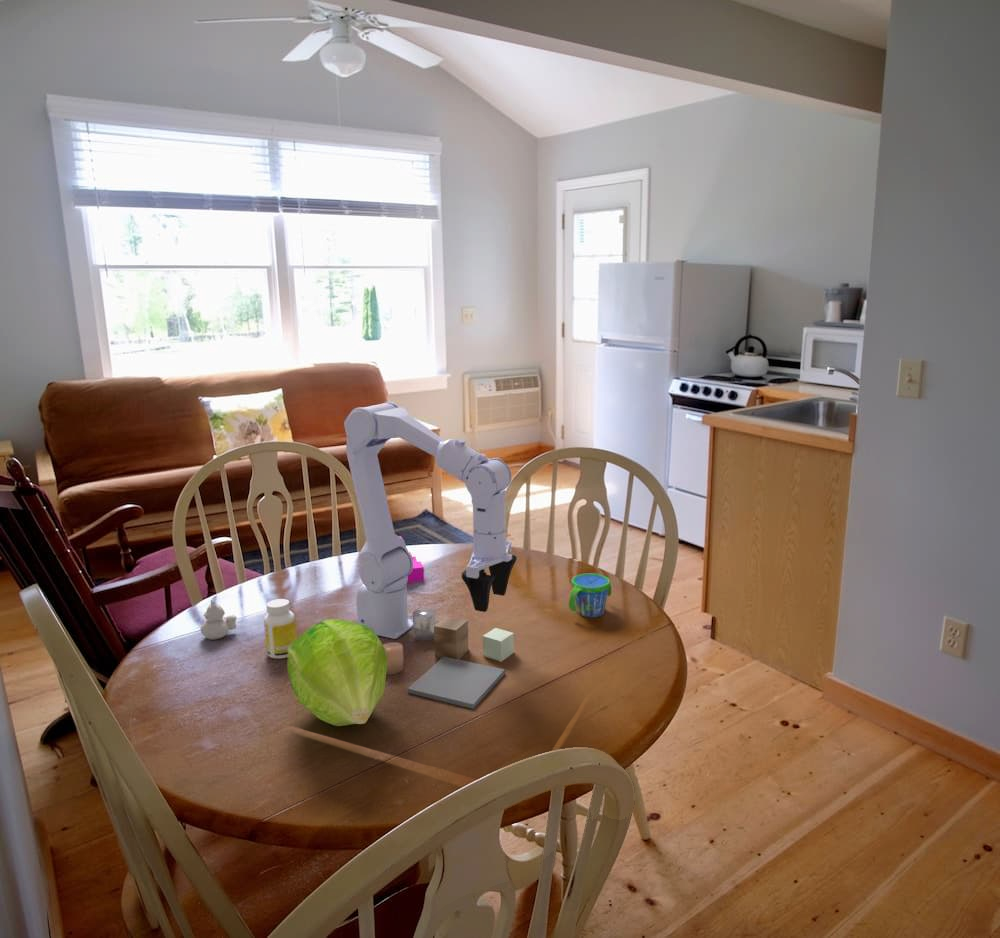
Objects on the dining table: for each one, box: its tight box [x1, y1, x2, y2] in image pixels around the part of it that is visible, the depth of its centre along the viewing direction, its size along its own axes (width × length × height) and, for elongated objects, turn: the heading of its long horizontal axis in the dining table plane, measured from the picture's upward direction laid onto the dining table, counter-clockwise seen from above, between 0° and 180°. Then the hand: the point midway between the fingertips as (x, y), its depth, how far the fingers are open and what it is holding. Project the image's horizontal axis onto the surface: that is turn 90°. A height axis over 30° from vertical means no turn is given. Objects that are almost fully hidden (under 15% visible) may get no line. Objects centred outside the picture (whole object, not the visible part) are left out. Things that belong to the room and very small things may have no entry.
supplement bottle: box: [263, 598, 298, 660], centre depth 131 cm, size 5×5×10 cm
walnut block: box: [433, 615, 469, 660], centre depth 130 cm, size 4×4×6 cm
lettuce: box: [286, 618, 388, 727], centre depth 107 cm, size 15×22×15 cm, turn 20°
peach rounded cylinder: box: [382, 641, 405, 675], centre depth 125 cm, size 4×4×4 cm
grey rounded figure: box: [200, 599, 237, 641], centre depth 138 cm, size 5×7×8 cm
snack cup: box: [568, 572, 612, 618], centre depth 146 cm, size 11×8×7 cm
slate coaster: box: [407, 657, 506, 710], centre depth 120 cm, size 12×12×1 cm
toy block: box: [399, 536, 425, 584], centre depth 169 cm, size 15×6×8 cm, turn 17°
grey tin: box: [412, 607, 437, 642], centre depth 137 cm, size 4×4×5 cm
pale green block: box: [482, 627, 515, 663], centre depth 130 cm, size 4×4×4 cm
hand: (490, 602), depth 128 cm, fingers open, 7 cm apart
